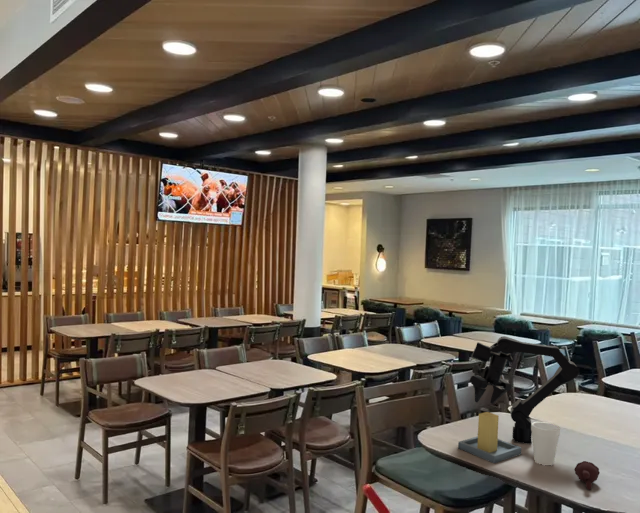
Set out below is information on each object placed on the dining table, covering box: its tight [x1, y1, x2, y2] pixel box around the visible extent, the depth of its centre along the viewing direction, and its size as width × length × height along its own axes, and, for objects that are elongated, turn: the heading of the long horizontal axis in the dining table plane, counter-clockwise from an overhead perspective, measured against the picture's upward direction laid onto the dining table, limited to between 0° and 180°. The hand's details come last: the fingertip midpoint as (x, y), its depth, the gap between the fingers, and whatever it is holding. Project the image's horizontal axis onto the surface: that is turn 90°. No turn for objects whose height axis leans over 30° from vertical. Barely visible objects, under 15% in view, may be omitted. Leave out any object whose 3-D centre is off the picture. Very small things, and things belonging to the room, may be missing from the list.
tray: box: [457, 435, 522, 464], centre depth 199 cm, size 16×16×2 cm
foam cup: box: [531, 421, 561, 466], centre depth 191 cm, size 10×9×13 cm
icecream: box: [574, 460, 600, 491], centre depth 176 cm, size 7×7×15 cm
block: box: [477, 411, 499, 453], centre depth 198 cm, size 5×5×13 cm
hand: (483, 402), depth 216 cm, fingers open, 9 cm apart
